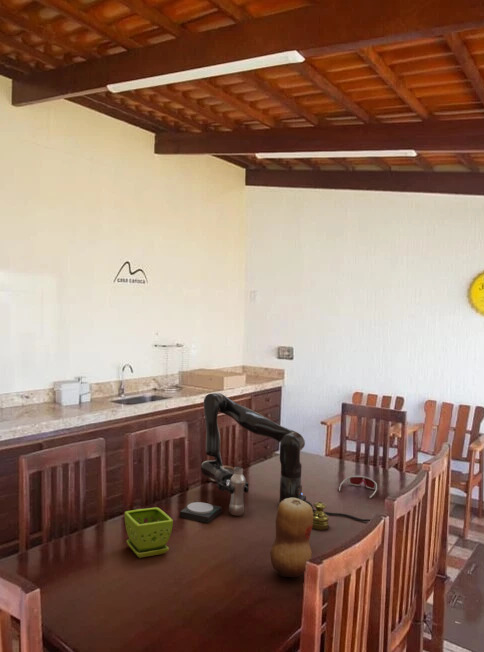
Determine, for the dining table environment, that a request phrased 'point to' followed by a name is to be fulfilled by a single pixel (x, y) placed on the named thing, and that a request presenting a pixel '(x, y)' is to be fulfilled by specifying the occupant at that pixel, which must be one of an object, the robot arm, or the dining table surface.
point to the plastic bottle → (237, 492)
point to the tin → (226, 469)
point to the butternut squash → (292, 537)
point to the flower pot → (148, 531)
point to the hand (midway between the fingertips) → (239, 490)
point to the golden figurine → (320, 517)
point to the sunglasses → (359, 479)
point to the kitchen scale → (201, 512)
